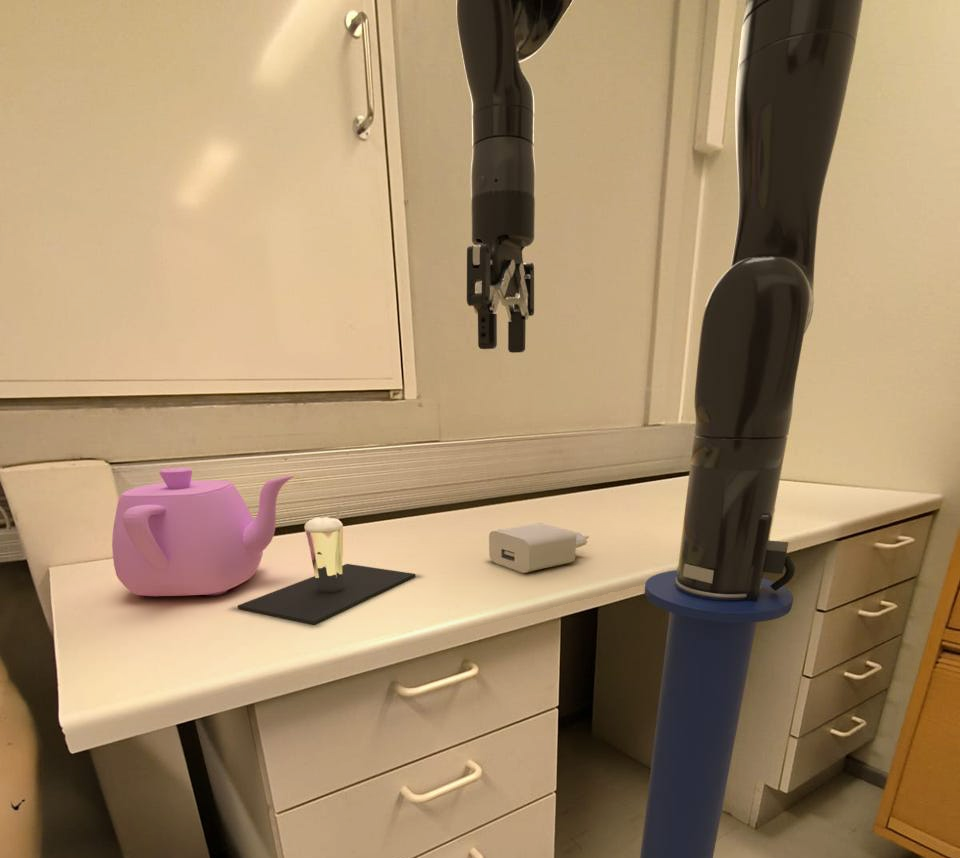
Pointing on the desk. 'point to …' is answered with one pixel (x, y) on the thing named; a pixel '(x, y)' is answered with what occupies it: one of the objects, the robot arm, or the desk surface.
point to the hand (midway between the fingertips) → (502, 350)
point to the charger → (534, 546)
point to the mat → (326, 595)
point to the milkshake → (326, 552)
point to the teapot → (190, 535)
